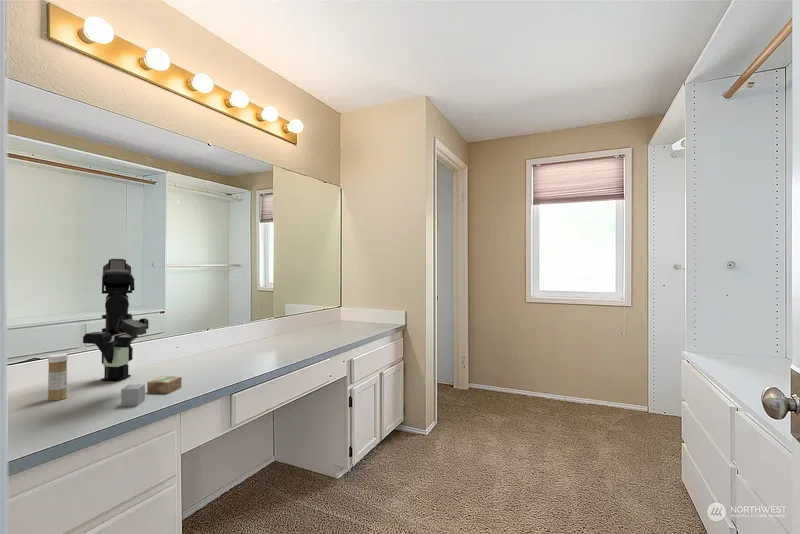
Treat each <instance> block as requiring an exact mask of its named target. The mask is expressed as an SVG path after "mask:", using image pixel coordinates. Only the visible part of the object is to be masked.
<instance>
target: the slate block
mask: <svg viewBox="0 0 800 534" xmlns="http://www.w3.org/2000/svg"><path fill="white" fill-rule="evenodd" d="M145 385H146V384H145V383H143V384H141V383H140V384H128V385H126V386H124V387H123V388H121V390H120V397H121V399H120V400H121V401H120V404H121V405H120V407H134V405H135V406H136V405H137V406H139V404H140V405H141V404H142V403H144V402H145V400H146V386H145Z"/></svg>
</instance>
